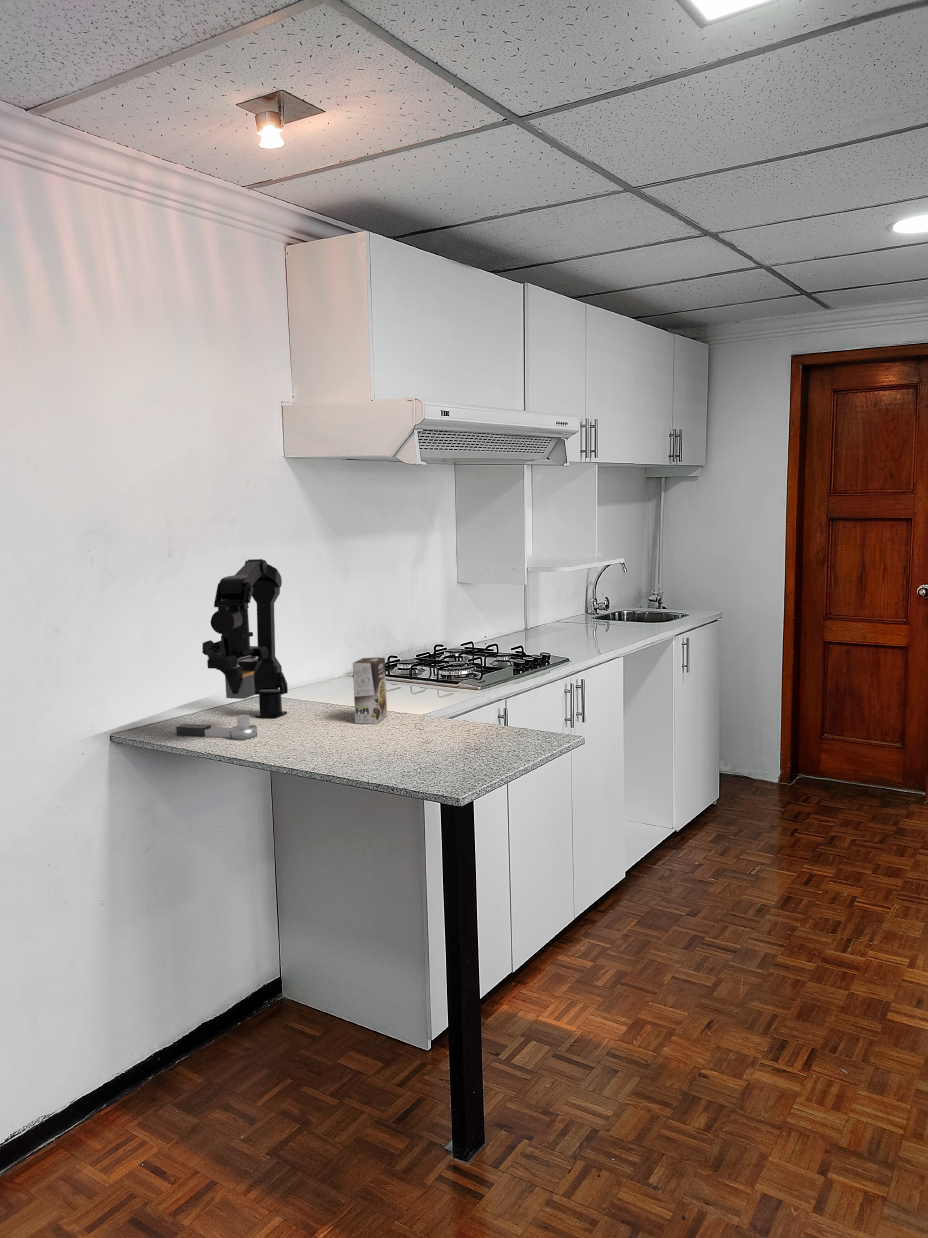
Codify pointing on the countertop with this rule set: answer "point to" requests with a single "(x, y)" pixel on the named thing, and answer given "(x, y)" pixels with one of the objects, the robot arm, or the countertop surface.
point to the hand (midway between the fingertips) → (240, 691)
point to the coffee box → (370, 690)
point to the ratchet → (220, 730)
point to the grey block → (242, 686)
